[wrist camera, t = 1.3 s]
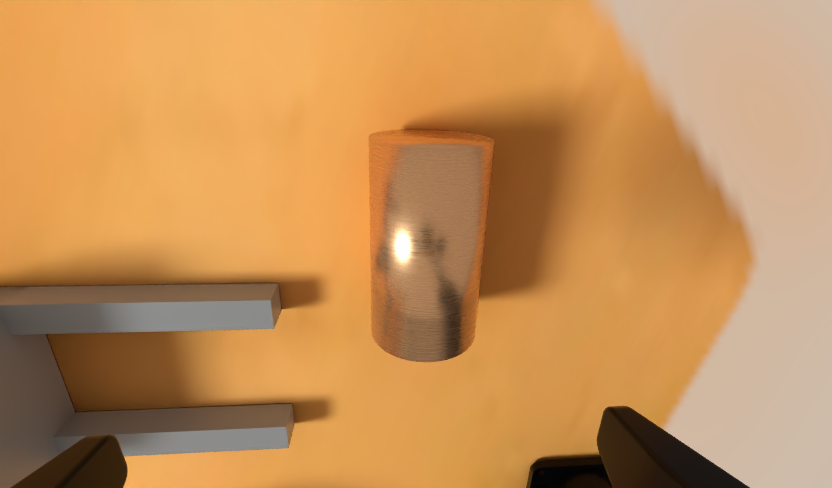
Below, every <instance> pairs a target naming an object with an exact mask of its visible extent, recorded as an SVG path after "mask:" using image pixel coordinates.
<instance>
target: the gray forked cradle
mask: <svg viewBox="0 0 832 488" xmlns="http://www.w3.org/2000/svg"><path fill="white" fill-rule="evenodd" d="M281 310H282V309H281V300H280V291H279V283H259V284H184V285H110V286H36V287H0V488H10V487H12V486H13V485H15V484H16V483H18V482H19V481H21V480H22V479H23V478H25V477H26V476H28V475H29V474H31V473H32V472H34V471H35V470H37V469H38V468H40V467H41V466H43V465H44V464H46V463H47V462H48V461H50V460H51V459H53V458H54V457H56V456H57V455H59V454H60V453H62V452H63V451H65V450H66V449H68V448H69V447H71V446H72V445H73V444H75V443H76V442H78V441H79V440H81V439H83V438H84V437H86V436H90V435H102V434H112V435H114V436H115V437H117V439H118V442H119V445H120V447H121V450H122V453H123V456H139V455H159V454H180V453H200V452H220V451H240V450H260V449H280V448H289V444H290V440H291V436H292V432H293V428H294V417H293V408H292V404H270V405H245V406H219V407H194V408H169V409H144V410H119V411H94V412H75V410H74V407H73V404H72V402H71V399H70V396H69V394H68V391H67V389H66V386H65V383H64V381H63V378H62V375H61V373H60V370H59V368H58V365H57V362H56V360H55V357H54V354H53V352H52V349H51V347H50V344H49V341H48V339H47V336H46V334H72V333H115V332H158V331H201V330H243V329H274V328H275V325H276V323H277V320H278V318H279V315H280V313H281Z"/></svg>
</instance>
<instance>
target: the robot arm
mask: <svg viewBox="0 0 832 488" xmlns="http://www.w3.org/2000/svg"><path fill="white" fill-rule="evenodd" d="M597 446H598V450H599V453H600V455H601V458H593V459H575V460H557V461H540V462H536V463H534V464H532V465H531V467H530V472H529V477H528V482H527V487H526V488H749V487H748V486H747V485H745V484H743V483H742V482H741V481H739V480H738V479H736V478H734V477H733V476H732V475H730V474H729V473H727V472H726V471H724V470H723V469H721V468H720V467H718V466H717V465H715V464H714V463H712V462H711V461H709V460H707V459H706V458H705V457H703V456H702V455H700V454H699V453H697V452H696V451H694V450H693V449H691V448H690V447H688V446H687V445H685V444H684V443H682V442H681V441H679V440H678V439H676V438H675V437H673V436H672V435H670V434H669V433H667V432H666V431H664V430H663V429H661V428H660V427H658V426H657V425H655V424H654V423H652V422H651V421H649V420H648V419H647V418H645V417H644V416H642V415H641V414H639V413H638V412H636V411H635V410H633V409H631V408H630V407H627V406H614V407H607V408H606V409H605V410H604V412H603V416H602V420H601V424H600V428H599V432H598V435H597ZM126 478H127V464H126V461H125V458H124V456H123V453H122V450H121V447H120V445H119V442H118V439H117V437H115V436H114V435H112V434H102V435H90V436H86V437H84V438H83V439H81V440H79V441H78V442H76V443H75V444H73V445H72V446H71V447H69V448H68V449H66V450H65V451H63V452H62V453H60V454H59V455H57V456H56V457H54V458H53V459H51V460H50V461H48V462H47V463H46V464H44V465H43V466H41V467H40V468H38V469H37V470H35V471H34V472H32V473H31V474H29V475H28V476H26V477H25V478H23V479H22V480H21V481H19V482H18V483H16V484H15V485H13V486H12V487H10V488H123V486H124V484H125V481H126Z"/></svg>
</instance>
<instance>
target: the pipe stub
mask: <svg viewBox="0 0 832 488" xmlns="http://www.w3.org/2000/svg"><path fill="white" fill-rule="evenodd" d="M494 143H495V140H494V139H492V138H490V137H487V136H483V135H478V134H473V133H466V132H457V131H445V130H391V131H382V132H377V133H373V134H371V135H369V177H370V252H371V327H372V336H373V338H374V340H375V342H376V343H377V344H378V345H379V346H380V347H381V348H382V349H383V350H384V351H386V352H388V353H389V354H391V355H394V356H396V357H399V358H402V359H405V360H410V361H416V362H436V361H442V360H447V359H450V358H453V357H456V356H458V355H460V354H461V353H463V352H464V351H466V350H467V349H468V348H469V347H470V346H471V344H472V343H473V341H474V337H475V328H476V318H477V308H478V299H479V289H480V279H481V269H482V260H483V250H484V240H485V231H486V221H487V211H488V201H489V192H490V182H491V172H492V162H493V153H494Z"/></svg>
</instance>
